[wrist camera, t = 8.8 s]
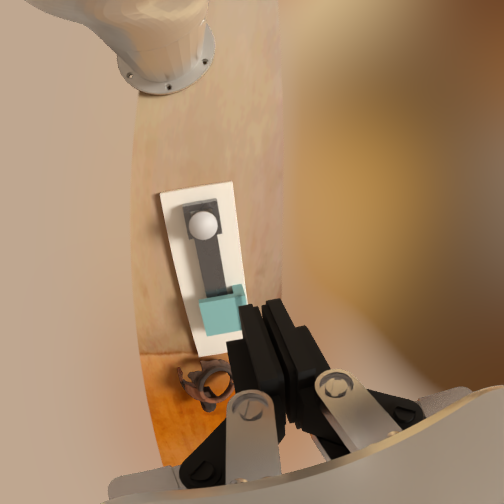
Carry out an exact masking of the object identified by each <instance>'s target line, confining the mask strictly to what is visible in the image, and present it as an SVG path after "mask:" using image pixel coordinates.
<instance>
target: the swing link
mask: <svg viewBox="0 0 504 504" xmlns="http://www.w3.org/2000/svg"><path fill="white" fill-rule="evenodd" d="M182 208H183V213H184V218H185V223H186V228H187V233H188V238H189V240H190V239H194V241H195V246H196V250H197V255H198V260H199V265H200V270H201V274H202V279H203V283H204V288H205V292H206V297H207V298H211V297H217V296H223V295H228V294H227V288H226V283H225V277H224V272H223V266H222V260H221V255H220V249H219V243H218V237H217V235H218V234H222V228H221V221H220V215H219V209H218V202H217V198H214V199H208V200H203V201H197V202H192V203H186V204H183V206H182ZM209 208H212V213H213V215H214V217H215V218H216V220H217V225H218V227H217V231H216V233H215V234H214V236H212V237H211V238H209V239H206V240H200V239H197V238H195V237H194V236H193V235H192V234H191V233H190V230H189V221H190V219H191V212H192V211H197V210H203V209H209Z"/></svg>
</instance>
